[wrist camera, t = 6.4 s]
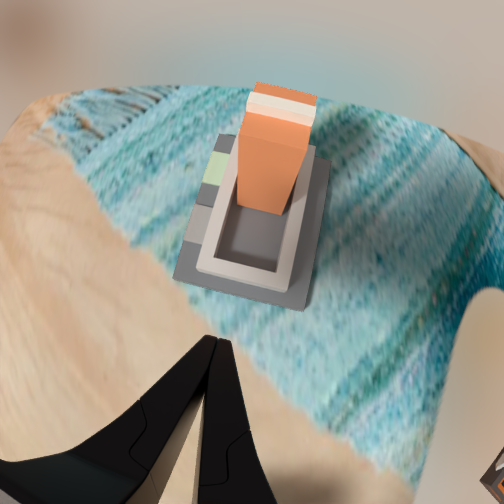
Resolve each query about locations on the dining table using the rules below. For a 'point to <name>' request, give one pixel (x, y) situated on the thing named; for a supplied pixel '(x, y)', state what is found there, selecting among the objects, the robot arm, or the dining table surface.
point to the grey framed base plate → (253, 234)
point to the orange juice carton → (272, 145)
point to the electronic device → (495, 478)
